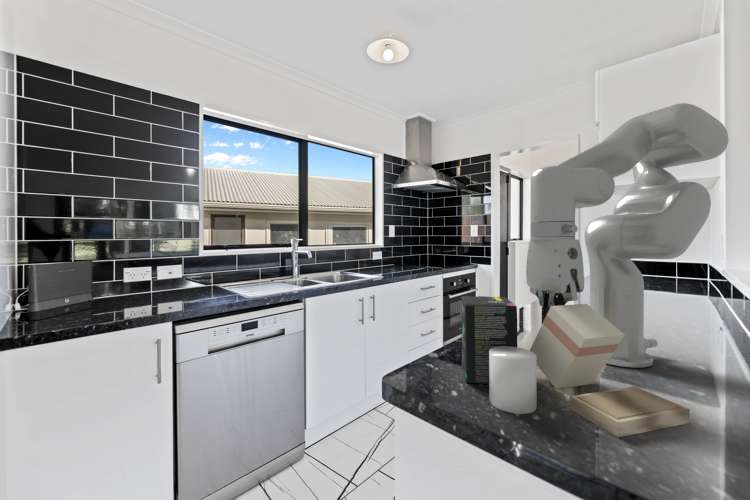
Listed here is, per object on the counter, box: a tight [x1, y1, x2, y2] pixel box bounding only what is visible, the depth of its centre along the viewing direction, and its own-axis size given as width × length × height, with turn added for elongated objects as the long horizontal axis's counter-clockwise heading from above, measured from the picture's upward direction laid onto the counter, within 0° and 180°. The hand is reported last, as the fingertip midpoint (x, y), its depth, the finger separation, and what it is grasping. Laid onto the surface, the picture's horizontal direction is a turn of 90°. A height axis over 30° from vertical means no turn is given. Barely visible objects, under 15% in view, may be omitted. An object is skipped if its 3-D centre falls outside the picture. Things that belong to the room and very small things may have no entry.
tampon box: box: [461, 295, 518, 385], centre depth 63 cm, size 11×9×15 cm
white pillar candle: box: [488, 346, 538, 415], centre depth 52 cm, size 7×7×8 cm
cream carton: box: [529, 303, 625, 390], centre depth 58 cm, size 8×8×12 cm
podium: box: [569, 385, 691, 438], centre depth 47 cm, size 13×8×2 cm, turn 104°
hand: (551, 327), depth 62 cm, fingers closed
